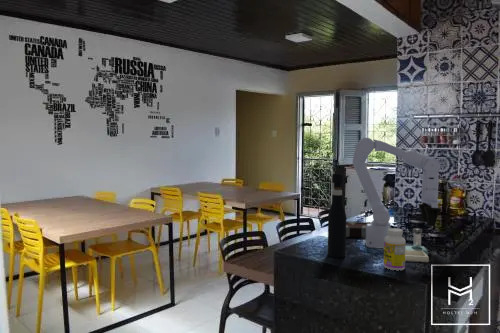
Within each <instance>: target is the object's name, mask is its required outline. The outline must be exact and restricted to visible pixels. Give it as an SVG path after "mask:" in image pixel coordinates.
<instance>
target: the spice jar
mask: <svg viewBox="0 0 500 333" xmlns="http://www.w3.org/2000/svg"><path fill="white" fill-rule="evenodd" d="M412 232H413V245H412V246H413V249H420V250H421V246H422V233H423V229H422V228H418V227H417V228H416V227H415V228H412Z"/></svg>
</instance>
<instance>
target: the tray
mask: <svg viewBox="0 0 500 333" xmlns="http://www.w3.org/2000/svg"><path fill="white" fill-rule="evenodd" d="M429 259H430V258H429V256H428V255H426V254H425V253H424V252H423V251H417V250H405V262H417V263H418V262H419V263H421V262H422V263H429V261H430V260H429Z"/></svg>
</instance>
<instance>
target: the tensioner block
mask: <svg viewBox="0 0 500 333" xmlns="http://www.w3.org/2000/svg"><path fill="white" fill-rule="evenodd" d="M405 250H417V251H423V252H424V253H425V254H426V255H427V256H428V255H429V254H428V253H429V252H428V251H429V250H428V249H427V248H426V247H425V246H424V245H423V246H422V245H421V250H420V249H413V245H406V247H405Z"/></svg>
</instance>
